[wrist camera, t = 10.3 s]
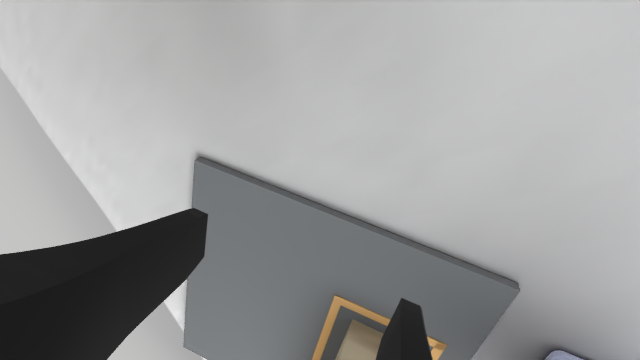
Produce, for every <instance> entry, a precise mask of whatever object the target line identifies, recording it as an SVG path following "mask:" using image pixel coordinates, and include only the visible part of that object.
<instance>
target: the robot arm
mask: <svg viewBox="0 0 640 360" xmlns="http://www.w3.org/2000/svg"><path fill="white" fill-rule="evenodd" d="M207 222H208V214H207V213H205V212H202V211H200V210H198V209H195V208H192V209H188V210H185V211H181V212H178V213H175V214H172V215H169V216H166V217H163V218H160V219H157V220H154V221H151V222H148V223H145V224H142V225H138V226H135V227H132V228H129V229H125V230H122V231H118V232H115V233H111V234H107V235H104V236H101V237H97V238H92V239H89V240H84V241H80V242H75V243H70V244H65V245H61V246H55V247H49V248H43V249H37V250H30V251H24V252H17V253H10V254H1V255H0V360H107V359H108V357H109V356H110V355H111V354H112V353H113V352H114V351H115V350H116V348H117V347H118V346H119V345H120V344H121V343H122V342H123V340H124V339H125V338H126V337H127V336H128V335H129V334H130V333H131V332H132V331H133V330H134V329H135V328H136V326H138V325H139V324H140V323H141V322H142V321H143V320H144V319H145V318H146V317H147V316H148V315H149V314H150V313H151V312H152V311H154V309H156V308H157V307H158V306H159V305H160V304H161V303H162V302H163V301H164V300H165V299H166V298H167V297H168V296H169V295H170V294H171V293H172V292H174V291H175V290H176V289H177V288H178V287H179V286H180V285H181V284H182V283H183V282H184V281H185V280H186V279H187V278H188V276H189V275H190V274H191V273H192V272H193V270H194V269H195V268H196V267H197V265H198V264H199V263H200V262H201V260H202V259H203V258H204V255H205V244H206V233H207ZM376 360H433V358H432V355H431V351H430V347H429V342H428V338H427V333H426V329H425V324H424V318H423V312H422V308H421V306H420V305H417V304H415V303H413V302H410V301H408V300H406V299H403V298H401V300H400V302H399V304H398V306H397V308H396V310H395V312H394V314H393V316H392V318H391V320H390V322H389V324H388V326H387V328H386V330H385V332H384V334H383V336H382V338H381V342H380V345H379V349H378V353H377V356H376ZM545 360H583V359H581V358H578V357H576V356H574V355H571V354H569V353H566V352H564V351H560V350H556V351H553V352H551V353H550V354H549V355H548V356H547V358H546V359H545Z"/></svg>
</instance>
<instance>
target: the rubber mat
mask: <svg viewBox="0 0 640 360" xmlns="http://www.w3.org/2000/svg"><path fill="white" fill-rule="evenodd" d="M192 208H195V209H198V210H200V211H202V212H205V213H207V214H208V222H207V233H206V244H205V255H204V258H203V259H202V260H201V262H200V263H199V264H198V265H197V267H196V268H195V269H194V270H193V272H192V273H191V274H190V275H189V276H188V279H187V296H186V312H185V329H184V345H183V346H184V347H185V348H187V349H188V350H190V351H192V352H194V353H196V354H198V355H200V356H202V357H204V358H206V359H207V360H335V358H336V356H337V354H338V352H339V349H340V347H341V345H342V342H343V340H344V338H345V336H346V333H347V331H348V329H349V326H350V324H351V322H352V320H353V319H354V320H356V321H358V322H360V323H362V324H364V325H366V326H368V327H371V328H373V329H375V330H377V331H379V332H381V333H383V334H384V332H385V330H386V328H387V326H388V324H389V322H390V320H391V318H392V316H393V314H394V312H395V310H396V308H397V306H398V304H399V302H400V300H401V298H403V299H406V300H408V301H410V302H413V303H415V304H417V305H420V306H421V308H422V312H423V318H424V324H425V329H426V333H427V338H428V342H429V347H430V351H431V355H432V358H433V360H470V359H471V358H472V357H473V355H474V354H475V352H476V351H477V350H478V348H479V347H480V345H481V344H482V343H483V341H484V340H485V339H486V337H487V336H488V334H489V333H490V332H491V330H492V329H493V327H494V326H495V325H496V323H497V322H498V320H499V319H500V318H501V316H502V315H503V314H504V312H505V311H506V309H507V308H508V307H509V305H510V304H511V302H512V301H513V300H514V298H515V297H516V296H517V294H518V293H519V291H520V288H519V284H518V283H516V282H513V281H511V280H508V279H506V278H503V277H501V276H498V275H496V274H493V273H491V272H488V271H486V270H483V269H481V268H478V267H476V266H473V265H471V264H468V263H466V262H463V261H461V260H458V259H456V258H453V257H451V256H448V255H446V254H443V253H441V252H438V251H436V250H433V249H430V248H428V247H425V246H423V245H420V244H418V243H415V242H413V241H410V240H408V239H405V238H403V237H400V236H398V235H395V234H393V233H390V232H388V231H385V230H383V229H380V228H378V227H375V226H373V225H370V224H368V223H365V222H363V221H360V220H358V219H355V218H353V217H350V216H347V215H345V214H342V213H340V212H337V211H335V210H332V209H330V208H327V207H325V206H322V205H320V204H317V203H315V202H312V201H310V200H307V199H305V198H302V197H300V196H297V195H295V194H292V193H290V192H287V191H285V190H282V189H280V188H277V187H275V186H272V185H270V184H267V183H264V182H262V181H259V180H257V179H254V178H252V177H249V176H247V175H244V174H242V173H239V172H237V171H234V170H232V169H229V168H227V167H224V166H222V165H219V164H217V163H214V162H212V161H209V160H207V159H204V158H202V157H199V158H198V159H196V160H195V164H194V180H193V197H192Z"/></svg>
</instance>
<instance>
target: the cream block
mask: <svg viewBox="0 0 640 360" xmlns="http://www.w3.org/2000/svg"><path fill="white" fill-rule="evenodd" d="M382 336H383V333H381V332H379V331H377V330H375V329H373V328H371V327H368V326H366V325H364V324H362V323H360V322H358V321H356V320H354V319H353V320H352V322H351V324H350V326H349V329H348V331H347V333H346V336H345V338H344V340H343V342H342V345H341V347H340V349H339V352H338V354H337V356H336V358H335V360H376V356H377V353H378V349H379V345H380V342H381V338H382Z"/></svg>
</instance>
